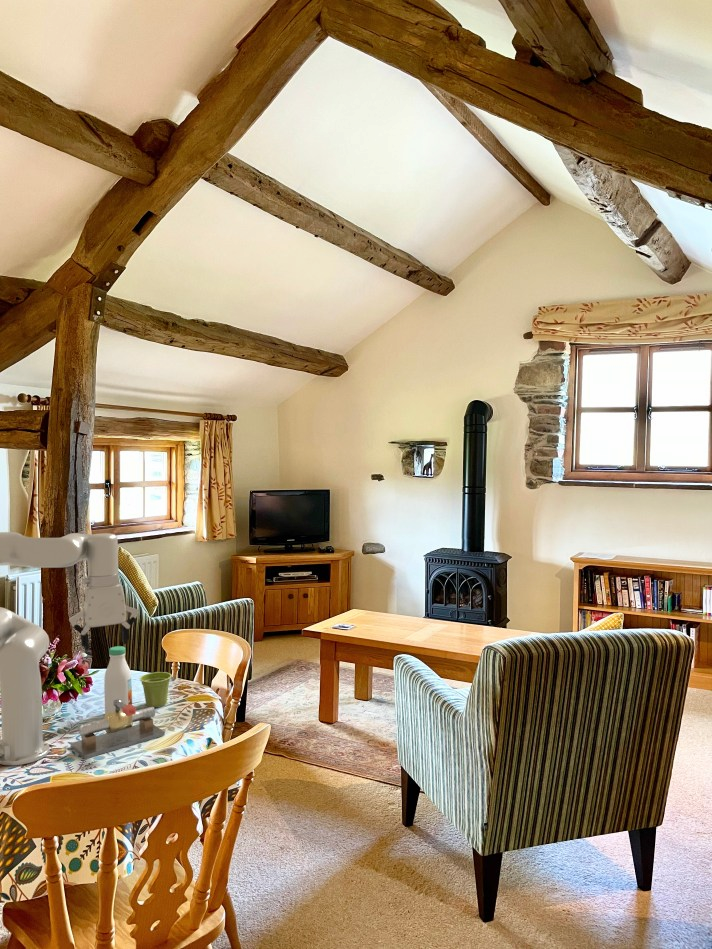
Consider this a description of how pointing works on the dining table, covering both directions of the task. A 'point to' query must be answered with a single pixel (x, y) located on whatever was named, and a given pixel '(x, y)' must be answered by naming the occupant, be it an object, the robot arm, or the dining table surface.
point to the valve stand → (116, 732)
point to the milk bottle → (117, 679)
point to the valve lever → (125, 707)
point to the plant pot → (156, 688)
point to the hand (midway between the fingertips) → (105, 645)
